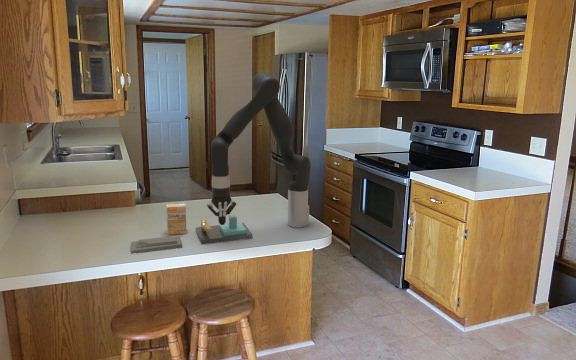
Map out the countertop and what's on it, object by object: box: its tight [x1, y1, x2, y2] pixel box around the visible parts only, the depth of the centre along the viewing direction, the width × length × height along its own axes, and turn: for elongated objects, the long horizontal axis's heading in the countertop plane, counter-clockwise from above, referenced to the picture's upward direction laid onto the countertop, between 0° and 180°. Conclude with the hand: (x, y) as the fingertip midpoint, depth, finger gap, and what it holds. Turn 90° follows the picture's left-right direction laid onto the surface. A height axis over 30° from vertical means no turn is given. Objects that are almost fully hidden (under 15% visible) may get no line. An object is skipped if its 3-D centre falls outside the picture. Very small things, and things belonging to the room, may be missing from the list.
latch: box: [200, 219, 212, 233], centre depth 202 cm, size 10×2×4 cm, turn 25°
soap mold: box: [130, 236, 184, 255], centre depth 192 cm, size 10×20×4 cm, turn 110°
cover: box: [219, 214, 247, 236], centre depth 205 cm, size 10×10×6 cm
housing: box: [195, 222, 253, 245], centre depth 206 cm, size 22×16×2 cm
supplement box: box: [166, 202, 187, 236], centre depth 207 cm, size 8×5×13 cm, turn 105°
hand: (222, 224), depth 201 cm, fingers closed
